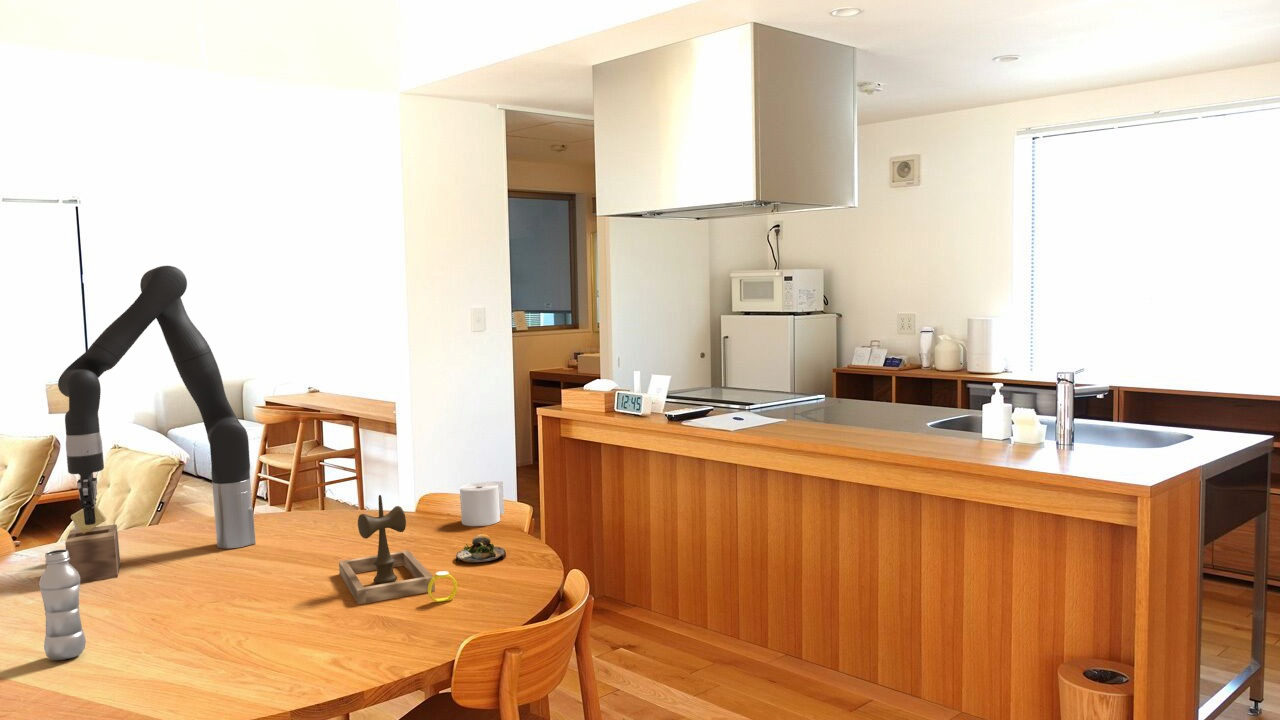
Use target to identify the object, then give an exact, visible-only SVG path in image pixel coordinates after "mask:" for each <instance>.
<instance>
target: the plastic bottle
mask: <svg viewBox="0 0 1280 720" xmlns="http://www.w3.org/2000/svg"><path fill="white" fill-rule="evenodd" d="M44 557H45V565H46V566H47V567H46V568H45V569H44V571H43V573H42V574H41V576H40V579H39V582H38V584H39V585H38V586H39V590H40V594H41V597H42V598H41V599H42V601H43V608H44V612H45V613H44V615H45V636H44V641H43V642H44V643H43V644H44V645H43V647H44V648H43V650H44V653H45V656H46V657H47V658H48V659H49V660H51V661H63V660H67V659H68V660H69V659H72V658H76V657H78V656H79V655H81V654H83V651H84V650H85V648H86V642H87V641H86V640H87V639H86V636H85V632H84V629H83V626H82V620H81V614H80V606H79V605H80V590H81V589H80V588H81V583H80V575H79V573H78V571H77V570H76V569H75V568H74V567H73V566H71V565H70V564H69V562H68V561H69V560H70V557H69V552H68V550H66V548H65V549H55V550H51V551H47V552H45V555H44Z"/></svg>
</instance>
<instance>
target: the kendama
mask: <svg viewBox="0 0 1280 720" xmlns="http://www.w3.org/2000/svg"><path fill="white" fill-rule="evenodd" d="M382 498H383V497H382V495H381V494H378V516H371V515H368V514H365V513H361V514H359V515H358V519H357V528H358V529H357V530H358V532H359V536H361V538H363V539H366V540H368V539H369V538H370V537H371V536H372V535H374V534H375V533H376V532H378V545H377V546H378V547H377V548H378V549H377V554H376V555H377V559H376V560H375V561H374V565H375V566H376V568H377V570H376V575H375V576H374V578H373V582H374V583H375V584H376V585H380V584H386V583H391V582H397V580H398V576H397V574H395V571H394V567H393V563H394V561H395V560H394V559H393V558H392V557H391V555H390V553H391V552H390V547H389V544H388V539H387V532H386V529H391V530H394V531H396V532H398V533H403V532H404V531H405V530H406V526H407V518H406V513H405V511H404V510H403V508H402V507H401V506H400V505H397V506H396V505H395V506H394V507H393V508H392V509H391V510H390V511H389V512H388V513H387V514H385V515H384V506H383V499H382Z"/></svg>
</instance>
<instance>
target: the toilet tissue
mask: <svg viewBox="0 0 1280 720" xmlns="http://www.w3.org/2000/svg"><path fill="white" fill-rule="evenodd" d="M503 484H504V482H503V481H485V482H477V483H476V482H475V483H469V484H464V485H462V486H460V487H459V495H460V496H459V498H460V515H461V516H460V517H461V524H462V525H463V526H467V527H484V526H491V525H494V524H497V523H499V522H500V521H501V515H505V504H504V503H505V502H504V501H502V500H504V488H503V487H504V486H503Z"/></svg>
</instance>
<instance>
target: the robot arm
mask: <svg viewBox="0 0 1280 720" xmlns="http://www.w3.org/2000/svg"><path fill="white" fill-rule="evenodd" d="M187 287H188V280H187V278H186V275H185V273H184V272H183V271H182V270H181V269H180V268H178V267H176V266H172V265H162V266H157V267H155V268H152V269H148V271H146V272H144V274H143V275H142V277H141V279H140V290H141V291H140V292H141V293H140V294H139V296H137V298H136V299H135V300H134V301H133V303H132V304H131V305H130V306H129V307H128V308H127V309H126V310H125V311H124V312H122V313H121V314H120V315H119V316H118V317H117V318H116V319H114V321H112V322H111V324H109V325H108V326H107V327H106V328H105V329H104V330H103V331H102V332H101V333H100V335H99V336H98V337H97V338H96V339H95V340H94V341H93V343H92V344H91V345H90V347H89V348H88V349H87V350H86V351H85V352H84V353H83V354H81V355H80V356H79V357H78V358H76V359H75V360H74V361H73V362H72V363H70V365H69V366H68V367H67V368H66V369H64V370H63V372H62V373H61V375H60V376H59V378H58V381H57V382H58V383H57V388H58V390H59V392H60V393H61V394H62V395H64V396H65V397H67V398H68V411H67V412H66V413H65V415H64V424H65V425H64V426H65V437H66V438H65V451H66V464H67V472H68V474H70V475H79V479H77V481H76V486H77V490H78V495H79V496H78V497H79V500H80V503H81V505H80V508H81V509H83V510H84V520H85V525H92V524H95V511H94V509H95V505H96V506H97V500H98V499H97V496H98V489H97V485H98V478H97V477H94V473H98V472H102V471H103V470H104V468H105V466H104V453H103V452H104V451H103V440H102V436H101V431H100V429H101V428H100V418H99V409H100V403H101V390H102V389H101V383H100V379H99V378H100V377H101V376H102V375H103V374H104V373H105V372H107V371H110V370H112V369H114V367H115V366H116V365H117V364H118V363H120V360H122V358H123V357H124V356H125V355H126V354H127V352H128V351H129V350H130V349H131V348H132V346H133V345H134V344H135V343H136V341H137V340H138V339H139V338H140V336H142V334H143V333H144V332H145V331H146V330H147V328H149V326H150V325H151V324H152V323H153V322H154V321H155V320H156V321H157V323H158V325H159V327H160V329H161V331H162V335H163V338H164V339H165V342H166V346H167V348H168V350H169V352H170V354H171V358H172V360H173V363H174V365H175V367H176V370H177V372H178V375H179V377H180V378H181V380H182V383H183V384H184V386H185V388H186V390H187V392H188V393H189V395H190V396H191V398H192V399H193V402H194V403H195V404H196V406H197V408H198V410H199V413H200V415H201V418H202V421H203V425H204V427H205V428H204V429H205V431H206V432H205V433H206V436H207V440H208V443H209V450H210V464H211V473H210V474H211V485H212V496H213V510H214V521H215V522H214V524H215V535H216V546H217V548H219V549H227V550H229V549H238V548H242V547H247V546H251V545H255V544H256V543H257V542H256V529H255V518H254V508H253V501H252V500H253V499H252V487H251V475H250V474H251V471H250V470H251V461H250V446H249V445H250V444H249V436H248V435H249V434H248V431H247V429H246V428H245V427H244V425H242V424H241V422H240V420H239V419H238V417H237V415H236V414H235V412H234V410H233V408H232V407H231V405H230V402H229V400H228V397H227V395H226V391H225V387H224V383H223V379H222V375H221V372H220V369H219V366H218V363H217V361H216V358H215V356H214V353H213V351H212V349H211V347H210V344H209V343H208V342H207V340H206V339H205V337H204V335H203V334H202V333H201V332H200V330H198V328H197V327H196V326H195V324H194V323H193V322H192V320H191V318H190V317H189V315H188V313H187V310H186V309H185V305H184V303H183V301H182V300H183V299H182V297H183V295H185V293H186V290H187ZM94 503H95V505H94Z"/></svg>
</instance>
